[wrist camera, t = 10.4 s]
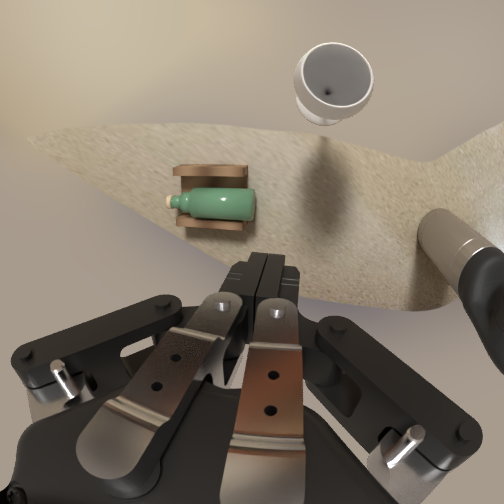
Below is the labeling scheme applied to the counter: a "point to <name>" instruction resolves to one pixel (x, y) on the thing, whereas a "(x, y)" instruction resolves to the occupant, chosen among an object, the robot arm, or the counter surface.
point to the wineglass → (332, 83)
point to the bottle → (216, 203)
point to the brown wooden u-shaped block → (212, 179)
